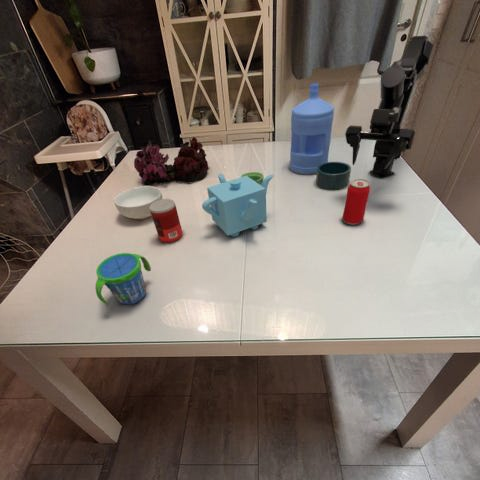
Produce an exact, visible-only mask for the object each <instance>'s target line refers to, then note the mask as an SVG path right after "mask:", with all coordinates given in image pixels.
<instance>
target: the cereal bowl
mask: <svg viewBox="0 0 480 480" xmlns="http://www.w3.org/2000/svg"><path fill="white" fill-rule="evenodd" d="M162 199H163V193H162V190H161V189H160V188H159V187H157V186H153V185H149V186H146V185H141V186H135V187H131V188H128V189H125V190H123V191H121V192H120V193H117V195H115V197H114V198H113V203H114V206H115V208H116V210H117V211H118V213H119V214H121V215H122V216H123V217H125V218H129V219H135V220H146V219H149V218H150V217H152V215H151V212H150V208H149V207H150V205H151V204H152V203H154V202H155V201H158V200H162Z"/></svg>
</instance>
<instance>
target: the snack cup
mask: <svg viewBox="0 0 480 480" xmlns="http://www.w3.org/2000/svg"><path fill="white" fill-rule="evenodd" d="M141 262H142V263H141ZM142 264H143V265H142ZM142 266H143V268H144V270H145V271H146V272H151V271H152V267H151V265H150V262H149V261H148V259H147V258H146V257H145V256H143V255H141V254H138V253H130V252H120V253H118V254H117V253H116V254H113V255H110V256H109V257H107V258H104V259H103V261H101V262H100V263H99V264H98V265H97V267H96V271H95V272H96V276H97V279H96V282H95V293H96V296H97V298H98V300H99V301H101V303H103V304H104V305H107V306H108V305H109V303H108V302H107V300H106V298H104V296H103V295H102V290H103V287H104V286H105V287H107V289H108V290H109V291H110V292H111V294H112V295H113V296H114V297H115V299H116V300H117V301H118V302H120V303H121V304H123V305H132V304H133V305H134V304H137V303H138V302H140V301H142V299H143V298H144V297H145V296H146V294H147V289H146V283H145V280H144V276H143V271H142Z"/></svg>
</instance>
